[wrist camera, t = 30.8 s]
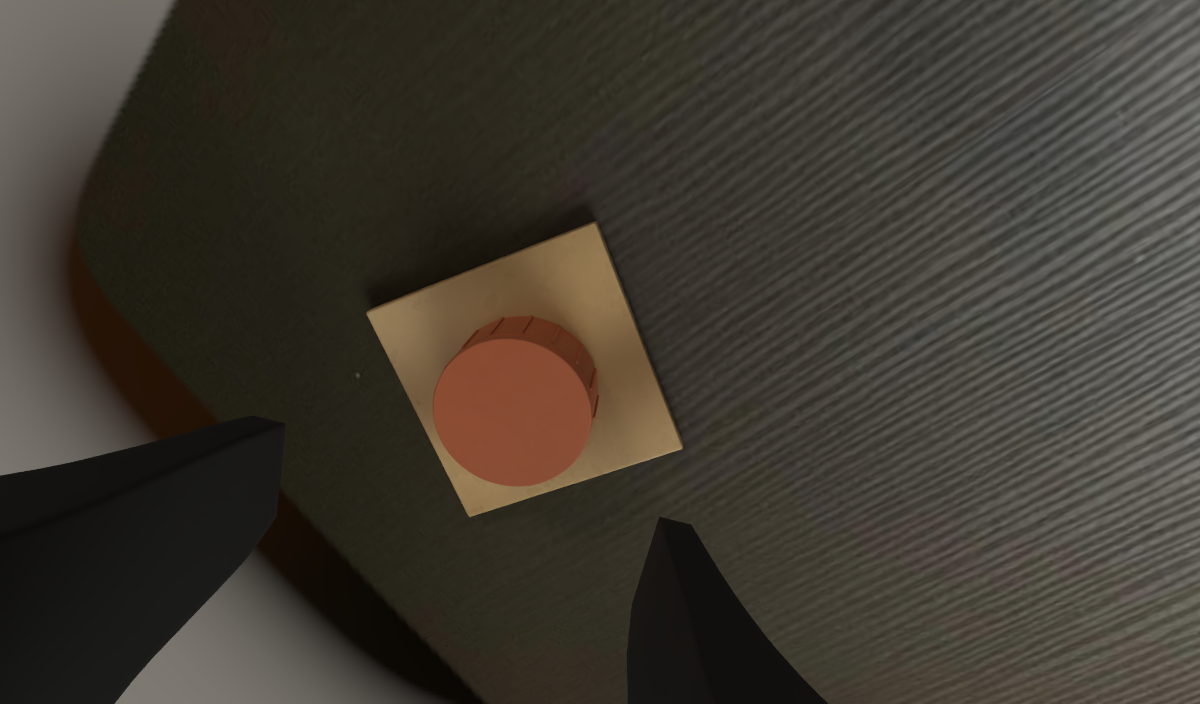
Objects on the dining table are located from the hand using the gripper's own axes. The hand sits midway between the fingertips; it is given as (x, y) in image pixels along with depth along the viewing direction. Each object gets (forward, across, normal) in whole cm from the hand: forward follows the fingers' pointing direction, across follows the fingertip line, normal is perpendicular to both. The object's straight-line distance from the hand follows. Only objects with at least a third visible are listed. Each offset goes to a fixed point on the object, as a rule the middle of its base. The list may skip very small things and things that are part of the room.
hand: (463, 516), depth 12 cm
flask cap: (+6, 0, +1) cm, 6 cm away
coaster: (+9, 0, 0) cm, 9 cm away
